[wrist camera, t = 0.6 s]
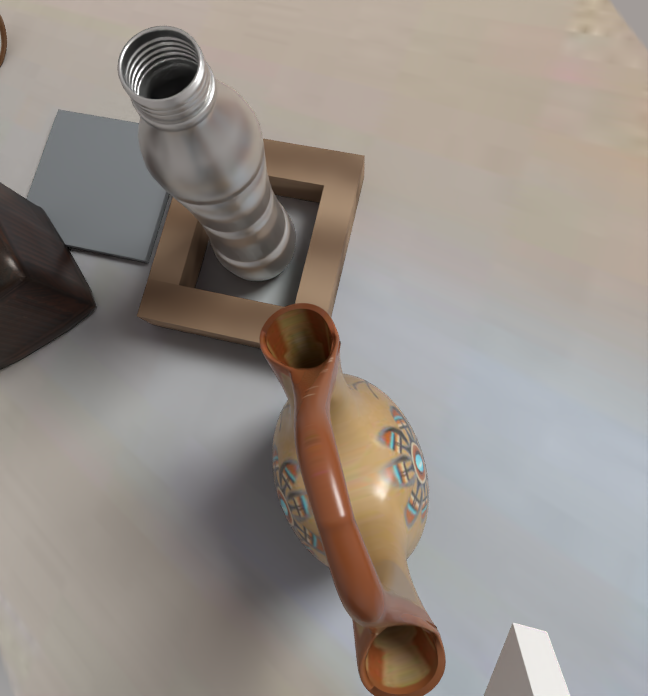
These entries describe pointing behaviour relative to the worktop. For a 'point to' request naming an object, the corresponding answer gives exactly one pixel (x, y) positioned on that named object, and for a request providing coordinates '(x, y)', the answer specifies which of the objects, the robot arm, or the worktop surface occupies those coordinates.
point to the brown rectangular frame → (320, 266)
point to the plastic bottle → (206, 151)
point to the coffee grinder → (35, 280)
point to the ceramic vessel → (354, 497)
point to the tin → (2, 40)
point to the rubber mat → (99, 187)
